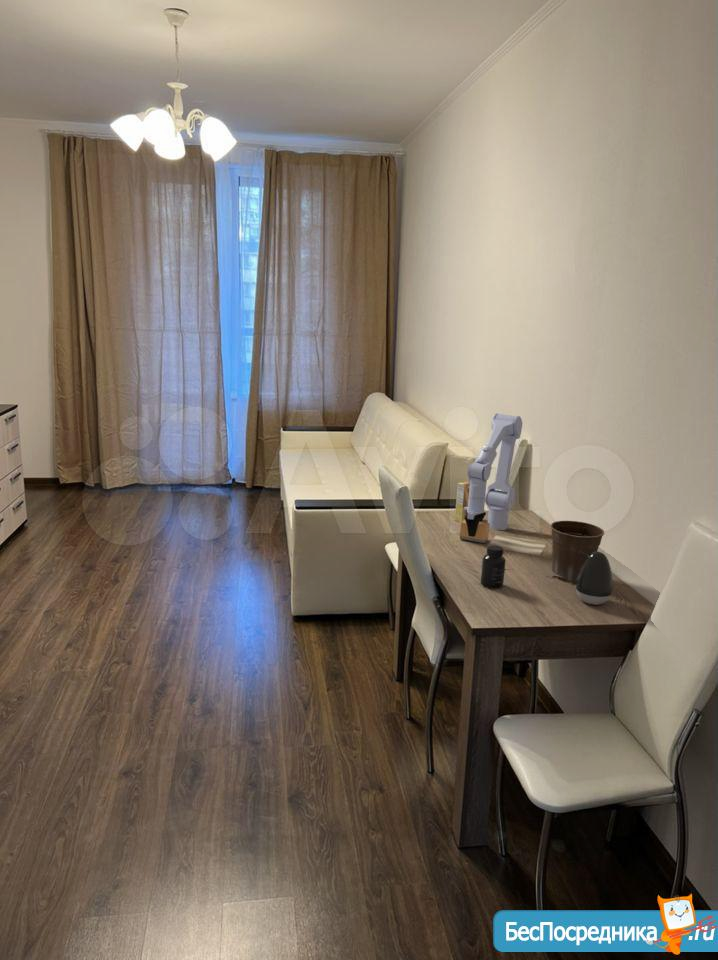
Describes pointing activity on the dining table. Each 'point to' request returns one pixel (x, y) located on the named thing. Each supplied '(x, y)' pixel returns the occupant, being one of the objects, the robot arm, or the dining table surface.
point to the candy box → (462, 500)
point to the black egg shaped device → (594, 579)
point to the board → (518, 544)
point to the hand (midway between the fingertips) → (473, 534)
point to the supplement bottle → (493, 567)
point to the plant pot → (572, 547)
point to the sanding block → (480, 533)
